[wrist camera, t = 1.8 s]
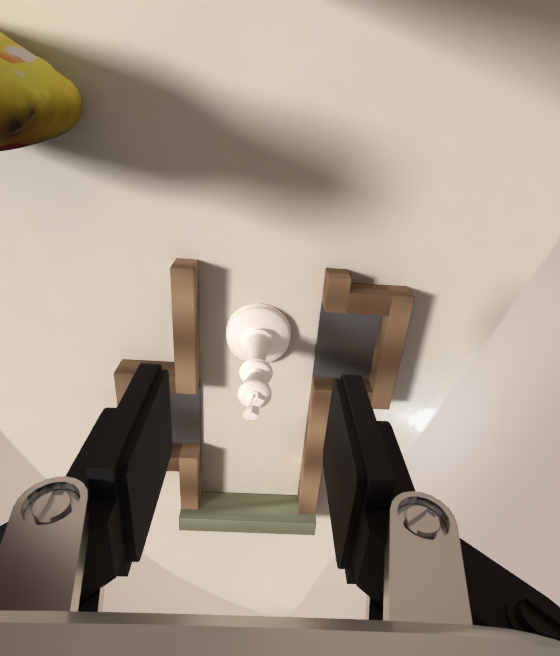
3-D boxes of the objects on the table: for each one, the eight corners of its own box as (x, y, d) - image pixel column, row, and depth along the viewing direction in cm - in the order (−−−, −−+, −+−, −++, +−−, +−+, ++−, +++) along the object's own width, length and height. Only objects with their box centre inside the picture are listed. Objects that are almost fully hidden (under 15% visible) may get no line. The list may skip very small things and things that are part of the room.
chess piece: (303, 323, 33) (314, 404, 24) (269, 370, 35) (267, 462, 26) (246, 291, 31) (236, 364, 23) (214, 342, 33) (192, 427, 24)
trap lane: (110, 254, 30) (94, 268, 27) (409, 273, 31) (422, 289, 28) (137, 500, 41) (128, 528, 38) (358, 509, 42) (364, 536, 39)
